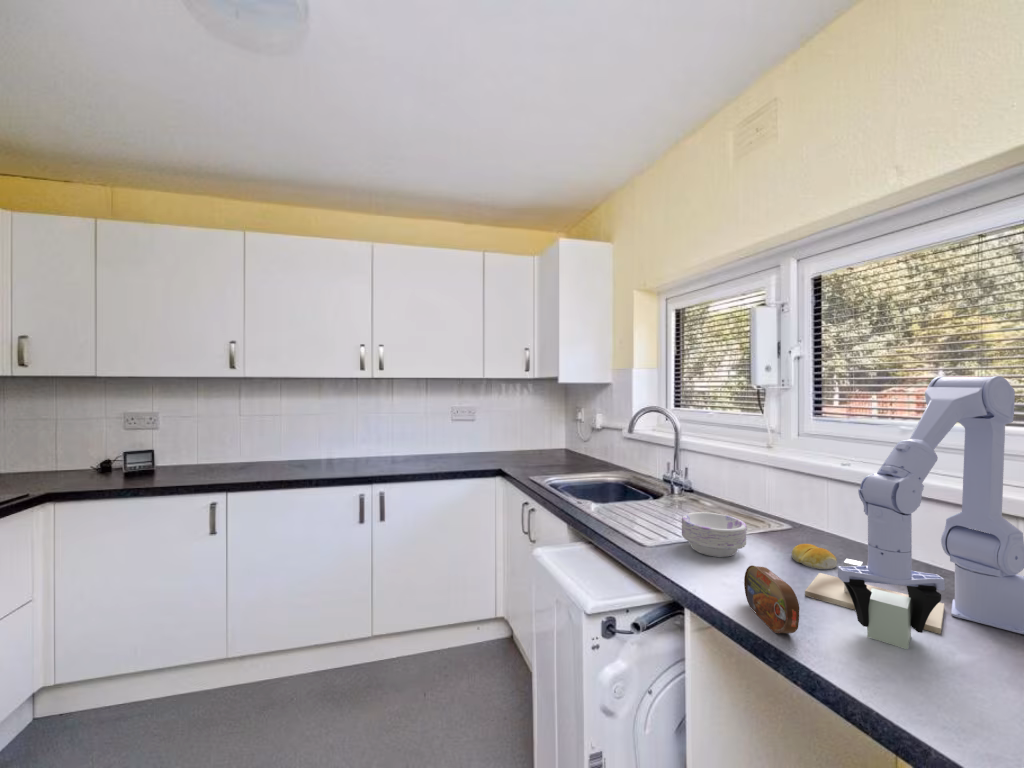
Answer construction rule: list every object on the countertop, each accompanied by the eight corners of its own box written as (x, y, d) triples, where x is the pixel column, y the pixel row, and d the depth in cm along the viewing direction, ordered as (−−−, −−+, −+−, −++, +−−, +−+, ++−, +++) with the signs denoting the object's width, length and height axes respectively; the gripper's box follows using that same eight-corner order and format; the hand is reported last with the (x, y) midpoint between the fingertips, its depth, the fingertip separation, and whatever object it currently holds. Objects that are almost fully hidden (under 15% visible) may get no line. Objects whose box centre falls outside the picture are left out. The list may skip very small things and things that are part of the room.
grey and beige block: (862, 591, 91) (862, 562, 91) (860, 596, 90) (860, 565, 90) (846, 587, 93) (846, 558, 93) (844, 592, 91) (844, 562, 91)
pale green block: (910, 636, 77) (910, 597, 77) (907, 649, 74) (907, 608, 74) (872, 625, 81) (871, 588, 81) (867, 636, 77) (867, 598, 77)
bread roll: (810, 554, 114) (810, 538, 114) (843, 568, 106) (843, 551, 106) (782, 557, 113) (782, 541, 113) (814, 572, 104) (814, 554, 104)
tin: (742, 600, 91) (742, 558, 91) (758, 600, 91) (758, 558, 91) (784, 644, 76) (783, 593, 76) (803, 644, 76) (803, 593, 75)
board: (944, 609, 86) (944, 603, 86) (940, 634, 78) (940, 628, 78) (819, 577, 101) (819, 572, 101) (804, 595, 92) (804, 590, 92)
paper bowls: (760, 555, 114) (760, 523, 113) (717, 566, 107) (717, 533, 107) (709, 536, 127) (709, 508, 127) (669, 546, 121) (668, 516, 120)
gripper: (925, 541, 79) (925, 619, 79) (830, 535, 83) (830, 609, 83) (953, 556, 72) (953, 642, 73) (848, 549, 76) (848, 630, 76)
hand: (889, 626), depth 77 cm, fingers closed on pale green block, 7 cm apart
